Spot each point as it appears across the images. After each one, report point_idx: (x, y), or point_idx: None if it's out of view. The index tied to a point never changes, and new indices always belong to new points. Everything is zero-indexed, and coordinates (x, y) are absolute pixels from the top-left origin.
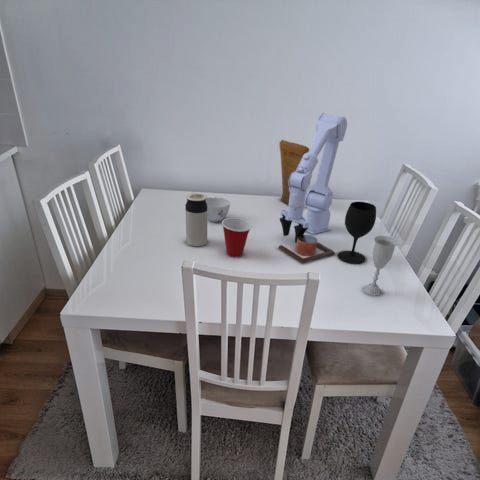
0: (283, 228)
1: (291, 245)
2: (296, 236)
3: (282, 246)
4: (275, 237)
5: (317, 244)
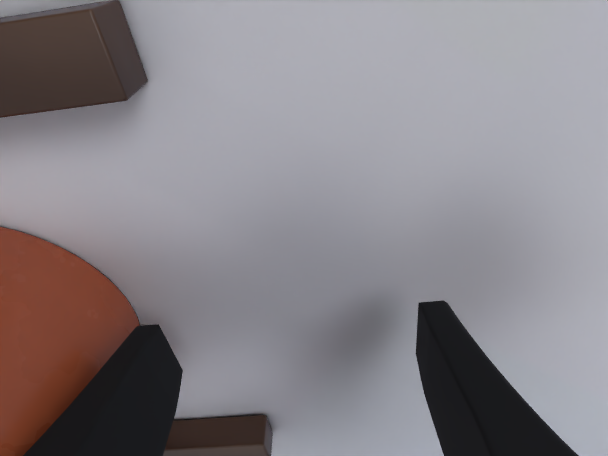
0: (492, 415)
1: (213, 261)
2: (54, 432)
3: (50, 77)
4: (554, 195)
5: None
